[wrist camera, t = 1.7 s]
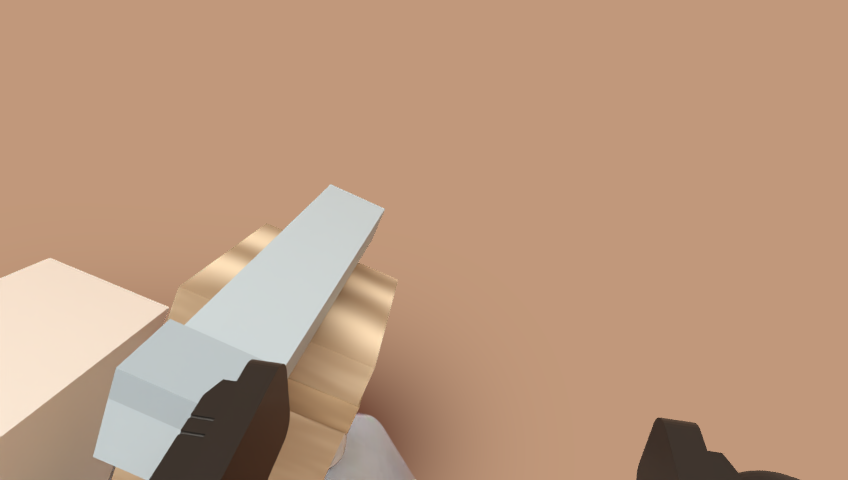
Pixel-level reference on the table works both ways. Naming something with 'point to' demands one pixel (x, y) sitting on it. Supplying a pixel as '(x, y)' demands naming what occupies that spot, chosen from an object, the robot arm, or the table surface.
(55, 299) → the block
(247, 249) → the tall brown wood-grain block
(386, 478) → the table surface
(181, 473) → the robot arm
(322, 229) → the pale blue-grey block
